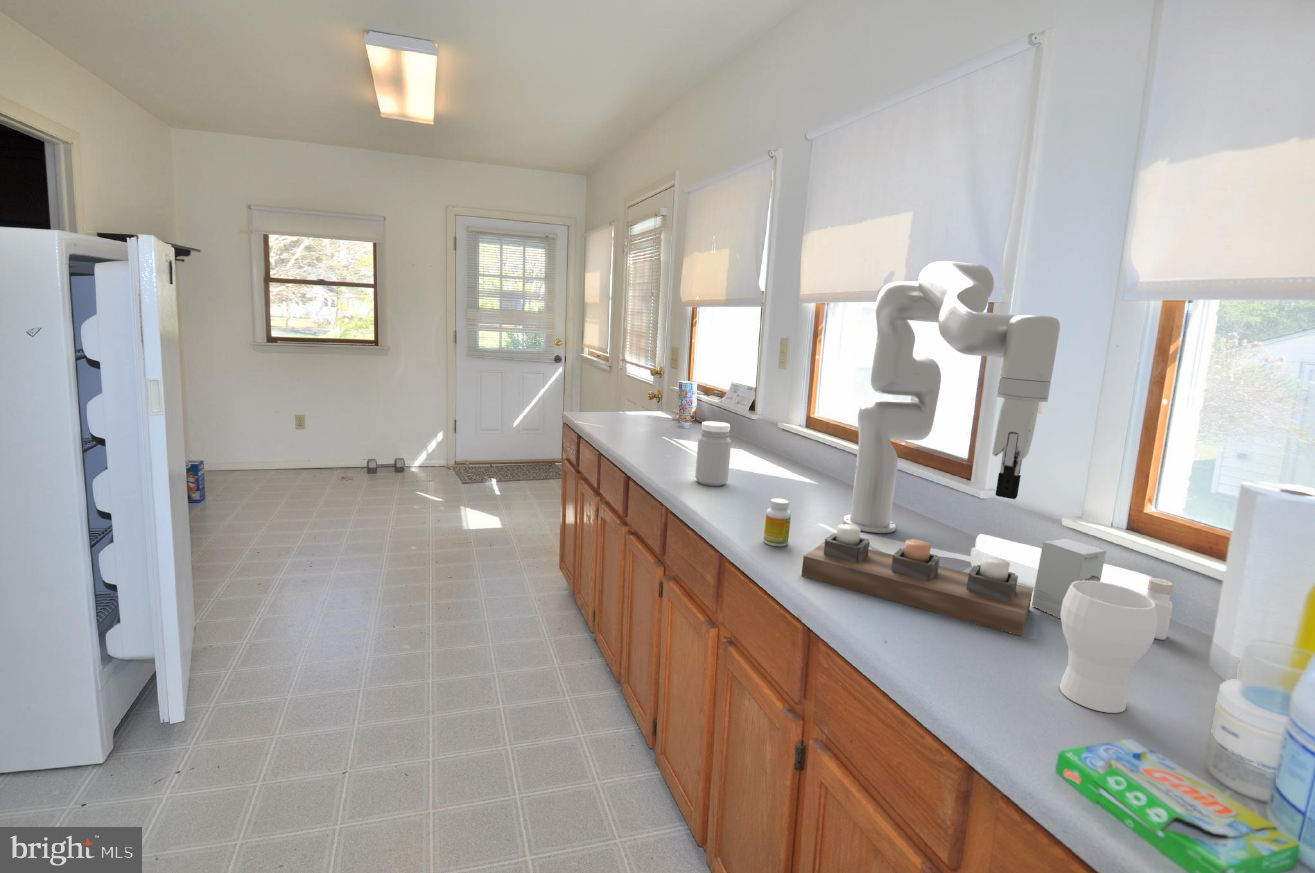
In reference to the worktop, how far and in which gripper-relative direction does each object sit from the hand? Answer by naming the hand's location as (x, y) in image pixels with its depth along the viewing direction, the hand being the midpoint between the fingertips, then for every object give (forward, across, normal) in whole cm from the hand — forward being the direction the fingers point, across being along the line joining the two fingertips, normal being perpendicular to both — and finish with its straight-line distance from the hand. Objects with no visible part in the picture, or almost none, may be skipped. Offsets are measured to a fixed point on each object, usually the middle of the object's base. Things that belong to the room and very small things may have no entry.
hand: (1006, 496), depth 115 cm
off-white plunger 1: (+15, 0, -26) cm, 30 cm away
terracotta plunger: (+15, 0, -13) cm, 20 cm away
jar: (+21, -47, -82) cm, 97 cm away
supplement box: (+21, -10, +11) cm, 26 cm away
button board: (+21, 0, -13) cm, 25 cm away
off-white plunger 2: (+15, 0, 0) cm, 15 cm away
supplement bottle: (+21, -8, -44) cm, 50 cm away
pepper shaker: (+21, -10, +24) cm, 34 cm away
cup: (+21, +22, +16) cm, 35 cm away
